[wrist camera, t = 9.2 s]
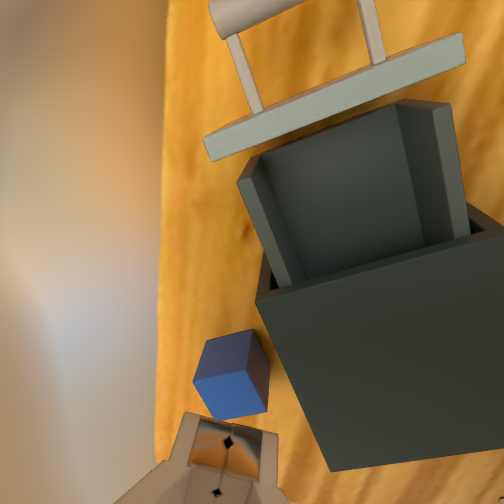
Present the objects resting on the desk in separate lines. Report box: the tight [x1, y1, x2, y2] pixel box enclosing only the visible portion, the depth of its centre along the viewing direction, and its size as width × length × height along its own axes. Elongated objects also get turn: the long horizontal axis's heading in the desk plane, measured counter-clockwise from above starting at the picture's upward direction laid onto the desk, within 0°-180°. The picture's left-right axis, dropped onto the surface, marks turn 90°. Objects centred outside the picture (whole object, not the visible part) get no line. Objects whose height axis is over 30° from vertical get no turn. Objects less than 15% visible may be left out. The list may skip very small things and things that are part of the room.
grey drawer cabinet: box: [255, 202, 504, 472], centre depth 24 cm, size 15×13×9 cm
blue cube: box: [193, 329, 271, 421], centre depth 30 cm, size 5×5×5 cm
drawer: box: [202, 0, 471, 288], centre depth 20 cm, size 19×11×7 cm, turn 21°
